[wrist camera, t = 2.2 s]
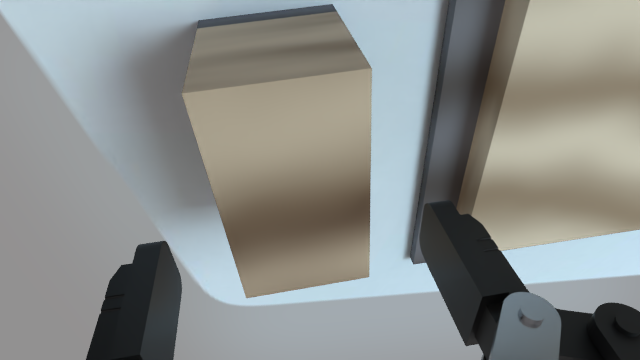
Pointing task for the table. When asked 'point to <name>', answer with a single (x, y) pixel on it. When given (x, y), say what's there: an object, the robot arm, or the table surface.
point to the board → (537, 120)
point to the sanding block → (285, 144)
